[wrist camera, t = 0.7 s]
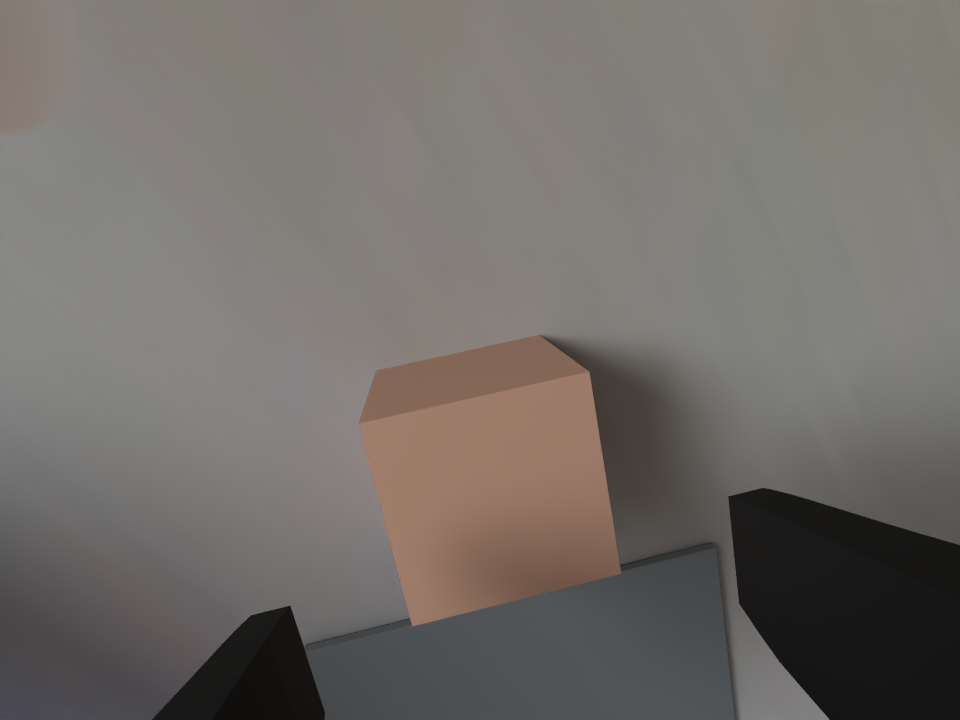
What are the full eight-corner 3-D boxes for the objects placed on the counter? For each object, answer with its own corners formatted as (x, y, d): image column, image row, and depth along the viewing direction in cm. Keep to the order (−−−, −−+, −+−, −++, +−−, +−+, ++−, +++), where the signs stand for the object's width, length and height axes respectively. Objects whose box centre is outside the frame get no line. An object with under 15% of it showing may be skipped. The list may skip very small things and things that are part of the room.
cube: (538, 334, 16) (589, 371, 12) (564, 482, 18) (621, 573, 13) (376, 370, 16) (358, 423, 11) (414, 518, 17) (412, 626, 12)
